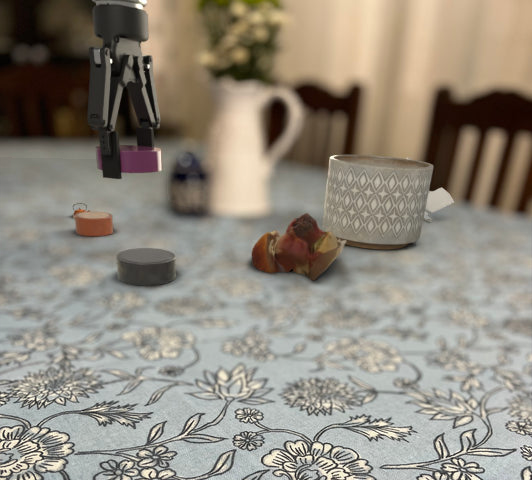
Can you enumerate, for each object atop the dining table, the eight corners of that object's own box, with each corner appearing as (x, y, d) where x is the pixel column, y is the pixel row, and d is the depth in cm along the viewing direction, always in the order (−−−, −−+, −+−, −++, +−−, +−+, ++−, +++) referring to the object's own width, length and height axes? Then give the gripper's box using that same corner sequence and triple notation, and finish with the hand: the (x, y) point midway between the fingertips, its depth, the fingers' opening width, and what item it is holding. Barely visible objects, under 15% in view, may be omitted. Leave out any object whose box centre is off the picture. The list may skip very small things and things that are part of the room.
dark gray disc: (106, 280, 70) (104, 258, 69) (135, 265, 77) (134, 244, 76) (159, 289, 69) (159, 267, 67) (185, 272, 76) (184, 252, 74)
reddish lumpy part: (344, 254, 73) (294, 203, 71) (283, 312, 78) (235, 266, 76) (348, 230, 87) (306, 186, 85) (296, 280, 92) (255, 240, 90)
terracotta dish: (68, 233, 91) (66, 216, 90) (89, 226, 97) (88, 209, 95) (100, 238, 90) (99, 220, 88) (120, 230, 95) (119, 213, 94)
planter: (395, 228, 110) (407, 157, 104) (435, 253, 94) (452, 169, 88) (311, 227, 107) (318, 152, 100) (337, 252, 91) (348, 165, 84)
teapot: (77, 214, 104) (76, 201, 103) (91, 216, 104) (90, 202, 103) (70, 217, 102) (68, 203, 101) (84, 219, 101) (82, 205, 100)
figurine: (402, 253, 121) (436, 225, 127) (427, 223, 110) (463, 194, 116) (357, 209, 123) (393, 184, 129) (378, 176, 113) (415, 150, 118)
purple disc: (84, 169, 79) (82, 147, 77) (119, 162, 87) (117, 143, 86) (143, 175, 76) (142, 153, 75) (173, 168, 85) (172, 148, 84)
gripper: (98, -9, 62) (113, 185, 72) (179, 19, 81) (182, 168, 91) (44, -9, 63) (66, 180, 73) (136, 18, 83) (143, 165, 93)
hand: (130, 174), depth 82 cm, fingers closed on purple disc, 10 cm apart
